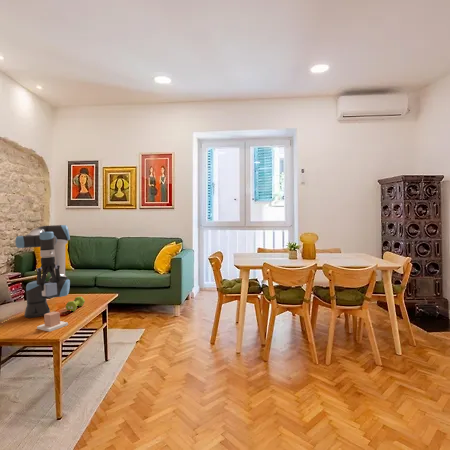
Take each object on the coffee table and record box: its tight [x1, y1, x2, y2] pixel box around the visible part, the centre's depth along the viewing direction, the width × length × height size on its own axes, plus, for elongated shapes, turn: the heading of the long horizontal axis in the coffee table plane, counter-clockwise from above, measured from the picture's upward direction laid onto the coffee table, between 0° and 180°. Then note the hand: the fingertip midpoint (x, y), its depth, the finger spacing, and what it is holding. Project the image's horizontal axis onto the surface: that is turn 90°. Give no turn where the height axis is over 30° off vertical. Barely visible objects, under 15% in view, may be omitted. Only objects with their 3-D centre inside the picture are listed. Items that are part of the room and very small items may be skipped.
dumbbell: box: [65, 296, 85, 313], centre depth 230 cm, size 16×8×7 cm, turn 1°
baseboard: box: [36, 320, 69, 333], centre depth 192 cm, size 12×12×2 cm
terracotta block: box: [43, 310, 61, 327], centre depth 192 cm, size 6×6×7 cm
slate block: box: [44, 283, 57, 297], centre depth 192 cm, size 6×6×7 cm
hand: (49, 294), depth 192 cm, fingers closed on slate block, 6 cm apart
